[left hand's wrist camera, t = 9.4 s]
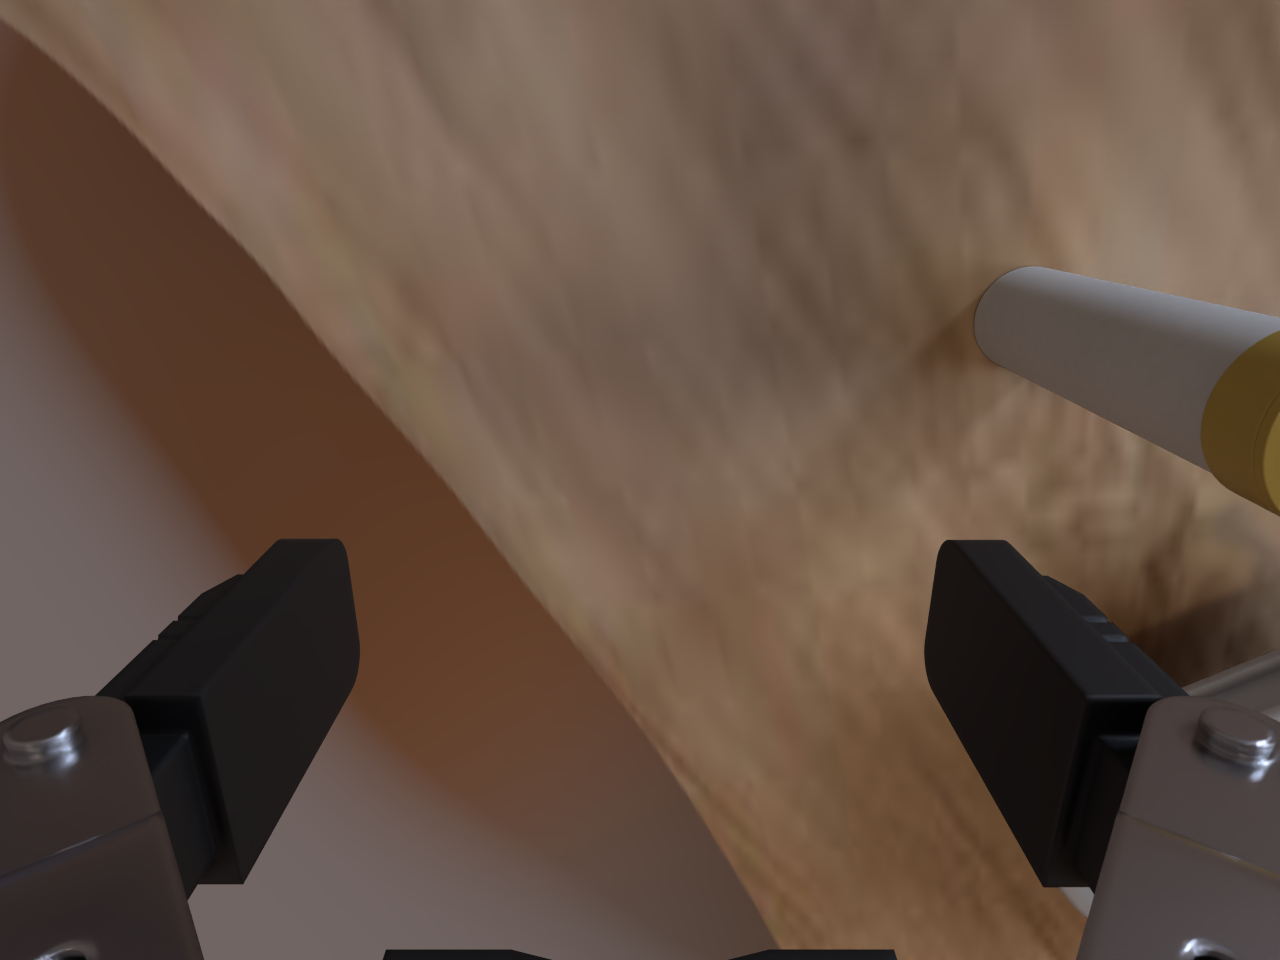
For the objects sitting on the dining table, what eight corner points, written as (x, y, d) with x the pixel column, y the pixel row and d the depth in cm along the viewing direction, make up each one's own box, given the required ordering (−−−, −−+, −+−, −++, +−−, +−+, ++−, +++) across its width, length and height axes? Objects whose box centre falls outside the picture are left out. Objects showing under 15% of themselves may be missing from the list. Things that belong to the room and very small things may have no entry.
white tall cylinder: (960, 360, 36) (1228, 507, 20) (990, 258, 34) (1306, 328, 18) (1056, 374, 36) (1397, 532, 20) (1089, 274, 34) (1488, 357, 18)
